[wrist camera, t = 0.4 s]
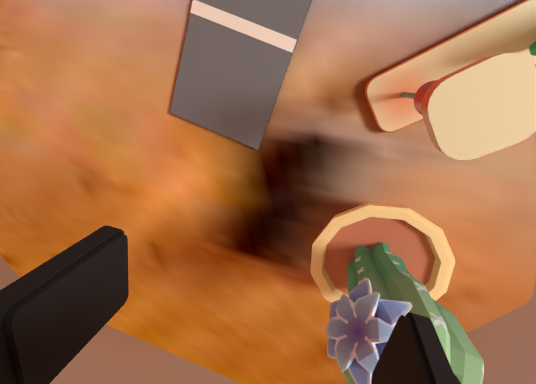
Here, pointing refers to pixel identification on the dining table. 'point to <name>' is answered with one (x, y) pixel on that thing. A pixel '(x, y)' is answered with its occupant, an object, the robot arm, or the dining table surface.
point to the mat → (236, 64)
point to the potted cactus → (386, 287)
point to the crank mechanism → (466, 87)
